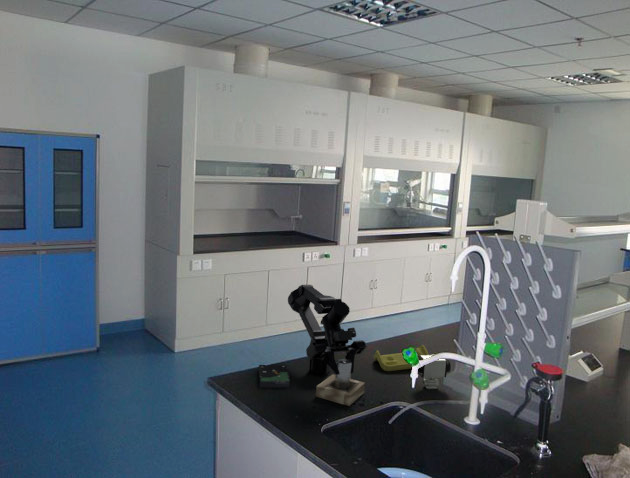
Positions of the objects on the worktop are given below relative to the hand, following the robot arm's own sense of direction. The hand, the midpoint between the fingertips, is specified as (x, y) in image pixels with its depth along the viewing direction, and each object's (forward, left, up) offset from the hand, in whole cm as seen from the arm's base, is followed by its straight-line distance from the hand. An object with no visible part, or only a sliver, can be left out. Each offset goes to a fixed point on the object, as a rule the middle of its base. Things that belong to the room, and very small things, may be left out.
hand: (345, 373), depth 167 cm
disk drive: (-26, -1, -9) cm, 28 cm away
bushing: (-1, +1, -7) cm, 7 cm away
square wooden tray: (-1, +1, -8) cm, 8 cm away
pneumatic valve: (+22, +25, -8) cm, 34 cm away
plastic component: (+7, +38, -8) cm, 39 cm away
